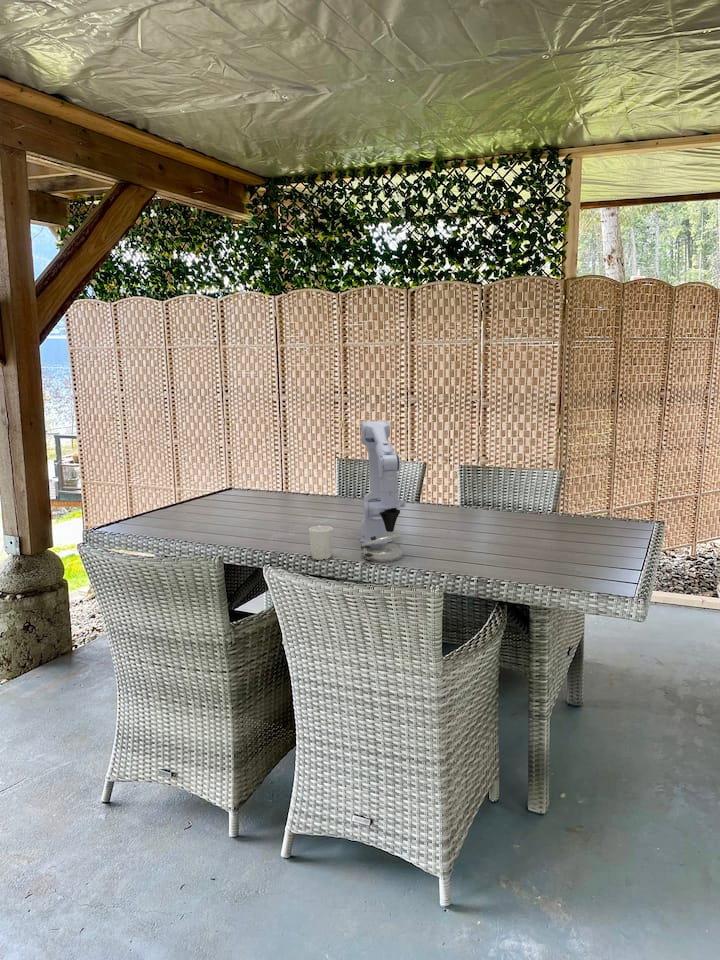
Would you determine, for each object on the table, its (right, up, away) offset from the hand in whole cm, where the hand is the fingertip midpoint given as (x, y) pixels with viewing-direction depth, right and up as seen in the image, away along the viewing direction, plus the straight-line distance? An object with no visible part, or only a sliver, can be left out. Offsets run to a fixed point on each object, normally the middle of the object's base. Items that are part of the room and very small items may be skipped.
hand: (389, 531), depth 228 cm
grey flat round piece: (-2, -9, +4) cm, 10 cm away
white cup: (-23, -9, +5) cm, 25 cm away
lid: (-3, -3, +3) cm, 5 cm away
